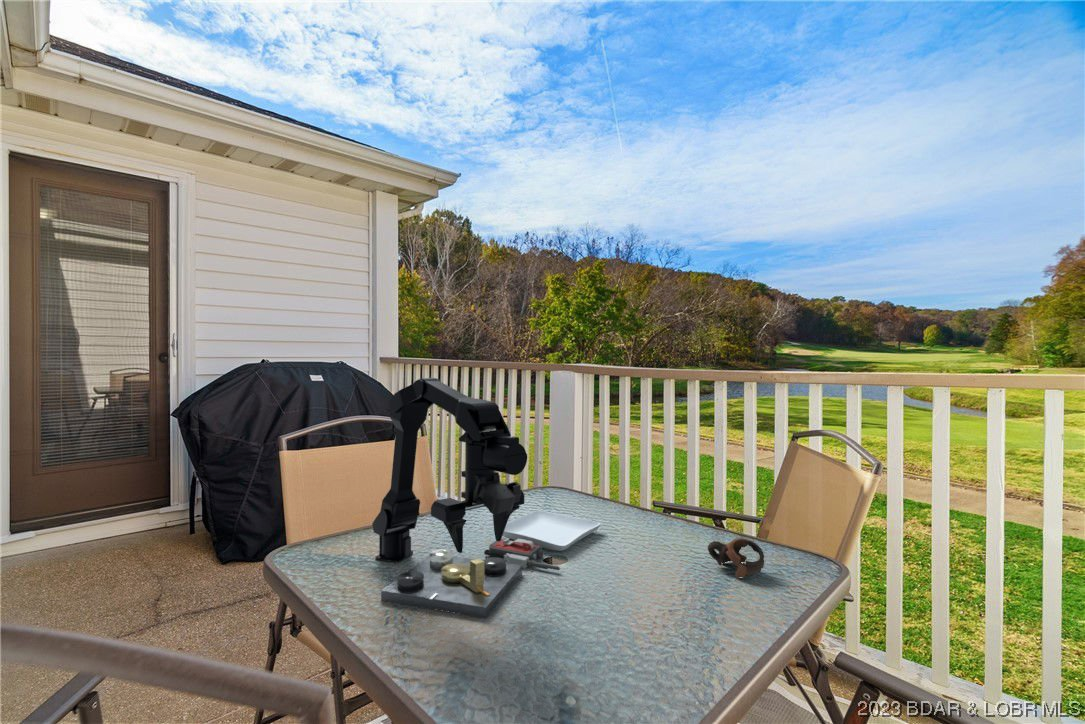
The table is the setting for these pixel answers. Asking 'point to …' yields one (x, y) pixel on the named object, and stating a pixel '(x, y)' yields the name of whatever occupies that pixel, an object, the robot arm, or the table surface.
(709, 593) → the table surface
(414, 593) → the instrument base
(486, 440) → the robot arm
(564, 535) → the salad plate
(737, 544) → the pottery mug
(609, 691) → the table surface
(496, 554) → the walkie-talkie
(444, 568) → the brass knob
